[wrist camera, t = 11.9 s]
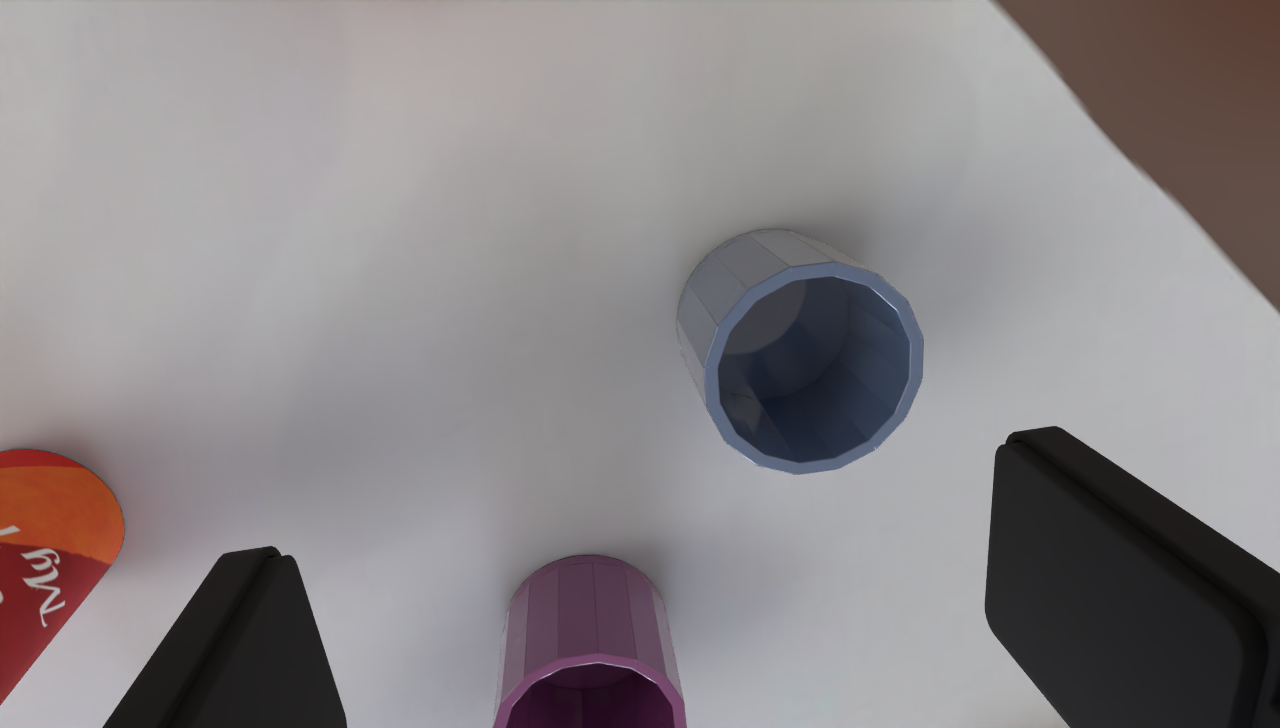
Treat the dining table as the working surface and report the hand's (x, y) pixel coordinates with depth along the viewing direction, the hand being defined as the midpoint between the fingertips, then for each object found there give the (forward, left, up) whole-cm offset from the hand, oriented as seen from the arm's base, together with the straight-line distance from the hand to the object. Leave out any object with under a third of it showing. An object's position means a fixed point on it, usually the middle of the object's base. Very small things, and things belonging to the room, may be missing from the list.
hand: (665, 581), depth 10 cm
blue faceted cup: (+6, +2, -19) cm, 20 cm away
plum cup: (+9, -13, -19) cm, 24 cm away
